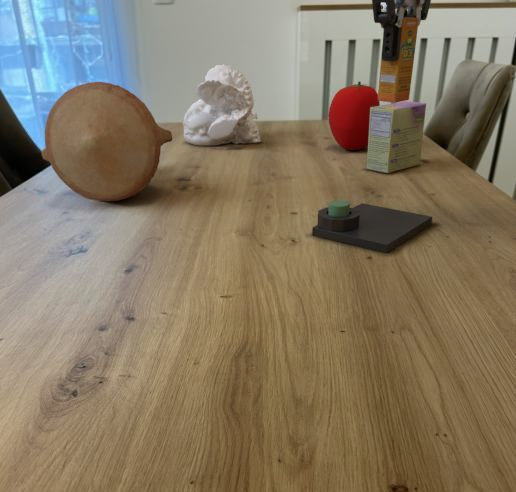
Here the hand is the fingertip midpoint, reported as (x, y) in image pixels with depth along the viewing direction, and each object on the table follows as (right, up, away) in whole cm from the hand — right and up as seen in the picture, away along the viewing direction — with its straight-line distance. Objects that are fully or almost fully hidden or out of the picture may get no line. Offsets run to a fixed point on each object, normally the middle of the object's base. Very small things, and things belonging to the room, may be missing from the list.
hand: (397, 58), depth 74 cm
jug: (-44, -9, +31) cm, 55 cm away
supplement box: (0, -5, +3) cm, 5 cm away
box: (+9, -3, +38) cm, 39 cm away
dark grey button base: (-2, -22, +7) cm, 23 cm away
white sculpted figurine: (-28, +12, +64) cm, 71 cm away
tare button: (-7, -20, +5) cm, 22 cm away
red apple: (+3, +7, +54) cm, 55 cm away
